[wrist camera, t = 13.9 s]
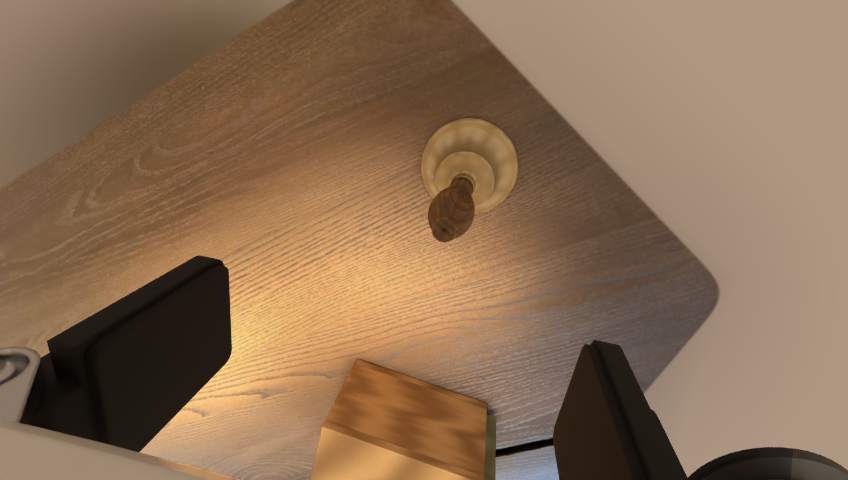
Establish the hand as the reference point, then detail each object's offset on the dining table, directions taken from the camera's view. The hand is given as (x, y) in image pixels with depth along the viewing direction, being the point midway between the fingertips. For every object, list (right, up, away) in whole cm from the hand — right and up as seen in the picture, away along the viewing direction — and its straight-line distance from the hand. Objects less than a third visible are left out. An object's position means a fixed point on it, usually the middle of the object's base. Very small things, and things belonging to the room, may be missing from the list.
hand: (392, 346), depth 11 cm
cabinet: (-1, -18, +36) cm, 40 cm away
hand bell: (+5, +9, +25) cm, 27 cm away
